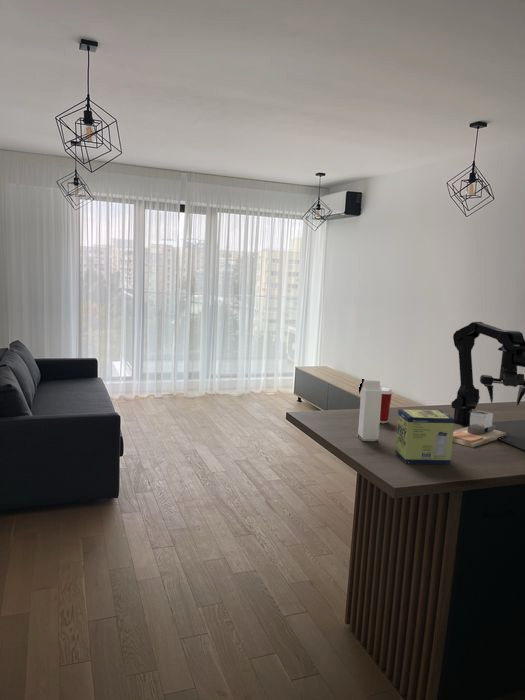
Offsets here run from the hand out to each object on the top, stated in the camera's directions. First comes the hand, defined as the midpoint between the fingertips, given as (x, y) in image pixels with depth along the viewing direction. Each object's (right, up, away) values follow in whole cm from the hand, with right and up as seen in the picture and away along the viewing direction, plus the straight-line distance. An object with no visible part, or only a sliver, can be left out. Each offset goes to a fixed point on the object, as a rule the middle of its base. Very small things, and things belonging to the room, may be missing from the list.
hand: (504, 403), depth 206 cm
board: (-12, -13, -1) cm, 18 cm away
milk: (-55, -12, -10) cm, 57 cm away
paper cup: (-44, -9, +16) cm, 48 cm away
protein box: (-40, -16, -29) cm, 52 cm away
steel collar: (-8, -9, +2) cm, 12 cm away
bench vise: (-7, -11, +3) cm, 14 cm away
